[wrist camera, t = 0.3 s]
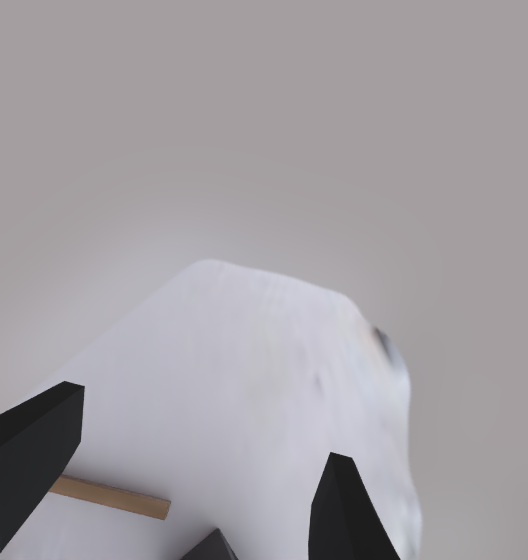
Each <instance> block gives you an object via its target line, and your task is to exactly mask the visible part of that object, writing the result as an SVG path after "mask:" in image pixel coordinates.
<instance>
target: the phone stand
mask: <svg viewBox="0 0 528 560" xmlns="http://www.w3.org/2000/svg"><path fill="white" fill-rule="evenodd" d="M181 560H238V558H237V557H236V555H235V554H234V552H233V550H232V549H231V547H230V545H229V544H228V542H227V541H226V539H225V537H224V536H223V534H222V532H221V531H220V529H219V528H218V529H217V530H215V531H214V532H213V533H212V534H211V535H209V536H208V537H207V538H206V539H205V540H203V541H202V542H201V543H200V544H199V545H198V546H196V547H195V548H194V549H193V550H192V551H190V552H189V553H188V554H187V555H186V556H184V557H183V558H182V559H181Z"/></svg>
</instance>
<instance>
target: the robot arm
mask: <svg viewBox="0 0 528 560" xmlns="http://www.w3.org/2000/svg"><path fill="white" fill-rule="evenodd" d="M84 389H85V386H81V385H78V384H74V383H70V382H67V381H64V382H62V383H60V384H58V385H56V386H54V387H52V388H50V389H48V390H46V391H44V392H42V393H40V394H38V395H37V396H35V397H33V398H31V399H29V400H27V401H25V402H23V403H21V404H20V405H18V406H16V407H14V408H12V409H10V410H8V411H6V412H4V413H2V414H0V553H1V552H2V550H3V549H4V548H5V546H6V545H7V544H8V543H9V541H10V540H11V539H12V537H13V536H14V535H15V534H16V532H17V531H18V530H19V528H20V527H21V526H22V525H23V523H24V522H25V521H26V519H27V518H28V517H29V515H30V514H31V513H32V512H33V510H34V509H35V508H36V506H37V505H38V504H39V503H40V501H41V500H42V499H43V497H44V496H45V495H46V494H47V492H48V491H49V490H50V488H51V487H52V486H53V484H54V483H55V482H56V480H57V479H58V478H59V476H60V475H61V473H62V472H63V470H64V469H65V467H66V465H67V464H68V462H69V461H70V459H71V457H72V456H73V454H74V452H75V450H76V449H77V447H78V445H79V444H80V442H81V430H82V417H83V403H84ZM308 556H309V560H400V558H399V556H398V554H397V552H396V551H395V549H394V547H393V545H392V543H391V541H390V539H389V537H388V535H387V533H386V531H385V529H384V527H383V525H382V523H381V521H380V519H379V517H378V515H377V513H376V511H375V509H374V506H373V504H372V502H371V500H370V498H369V495H368V493H367V491H366V489H365V486H364V484H363V482H362V479H361V477H360V475H359V472H358V470H357V467H356V465H355V462H354V461H353V459H352V458H351V457H347V456H343V455H340V454H336V453H332V452H330V455H329V457H328V460H327V463H326V466H325V468H324V471H323V474H322V477H321V480H320V482H319V485H318V488H317V491H316V493H315V496H314V499H313V502H312V505H311V516H310V527H309V541H308Z"/></svg>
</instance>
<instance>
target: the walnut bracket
mask: <svg viewBox="0 0 528 560" xmlns="http://www.w3.org/2000/svg"><path fill="white" fill-rule="evenodd" d="M49 492H53V493H57V494H61V495H65V496H69V497H73V498H77V499H81V500H85V501H89V502H93V503H97V504H101V505H105V506H109V507H113V508H117V509H121V510H125V511H129V512H133V513H137V514H141V515H145V516H149V517H153V518H157V519H161V520H165V518H166V517H167V513H168V510H169V506H170V503H171V502H170V501H166V500H162V499H158V498H154V497H150V496H146V495H142V494H138V493H134V492H130V491H126V490H122V489H118V488H114V487H110V486H106V485H102V484H98V483H93V482H89V481H85V480H81V479H77V478H73V477H69V476H65V475H60V476H59V478H58V479H57V480H56V482H55V483H54V484H53V486H52V487H51V488H50V490H49Z"/></svg>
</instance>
